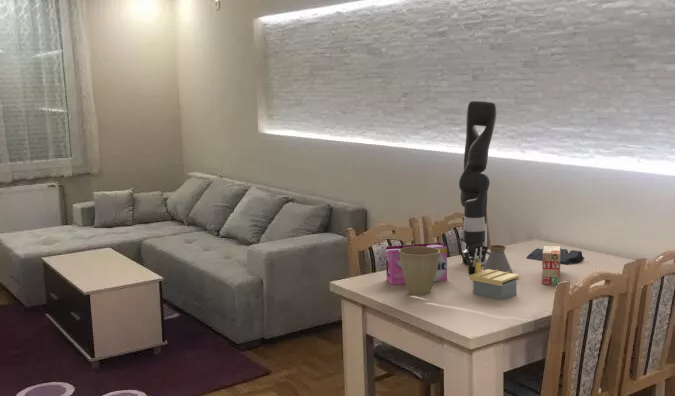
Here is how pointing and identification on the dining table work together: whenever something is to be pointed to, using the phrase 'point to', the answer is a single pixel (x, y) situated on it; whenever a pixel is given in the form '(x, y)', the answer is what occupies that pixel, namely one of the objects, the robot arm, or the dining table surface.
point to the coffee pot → (496, 259)
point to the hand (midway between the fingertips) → (474, 275)
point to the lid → (491, 275)
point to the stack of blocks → (551, 265)
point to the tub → (495, 289)
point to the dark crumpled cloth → (564, 256)
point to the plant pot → (419, 268)
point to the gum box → (394, 264)
